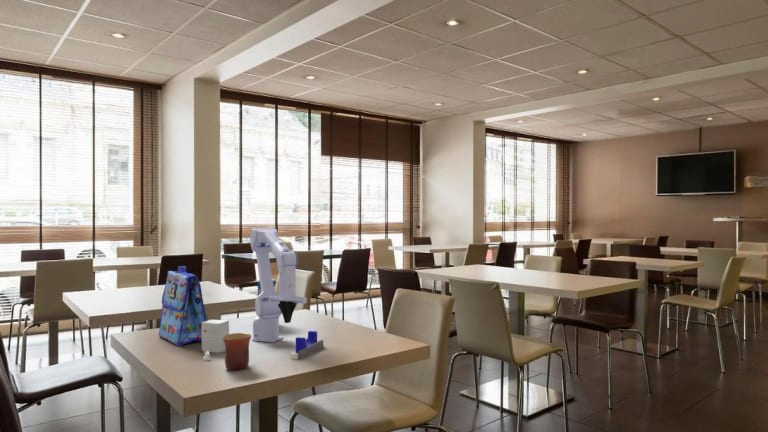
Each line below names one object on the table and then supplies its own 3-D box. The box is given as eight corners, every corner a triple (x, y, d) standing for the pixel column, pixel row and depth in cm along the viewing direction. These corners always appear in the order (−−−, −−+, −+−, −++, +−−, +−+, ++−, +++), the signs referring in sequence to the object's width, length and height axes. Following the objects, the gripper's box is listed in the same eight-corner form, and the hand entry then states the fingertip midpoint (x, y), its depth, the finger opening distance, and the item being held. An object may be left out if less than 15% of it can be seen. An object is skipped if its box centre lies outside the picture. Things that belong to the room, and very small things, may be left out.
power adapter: (211, 361, 175) (211, 351, 175) (204, 362, 173) (204, 353, 173) (207, 359, 177) (207, 350, 177) (200, 361, 175) (200, 351, 175)
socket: (290, 358, 175) (290, 351, 175) (316, 345, 193) (316, 338, 193) (299, 359, 174) (299, 352, 174) (324, 346, 192) (324, 339, 192)
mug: (248, 371, 161) (248, 338, 161) (219, 372, 160) (219, 339, 160) (255, 361, 173) (254, 330, 173) (228, 361, 172) (228, 331, 172)
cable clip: (306, 346, 192) (306, 330, 192) (317, 347, 191) (317, 331, 191) (291, 355, 181) (291, 338, 181) (303, 356, 179) (303, 338, 179)
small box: (229, 349, 188) (229, 320, 188) (220, 353, 183) (219, 323, 183) (211, 347, 191) (211, 319, 191) (201, 351, 186) (201, 322, 186)
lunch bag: (157, 336, 209) (157, 265, 209) (191, 331, 218) (191, 263, 218) (176, 347, 192) (176, 269, 192) (212, 341, 201) (211, 266, 201)
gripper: (263, 285, 186) (264, 323, 186) (299, 287, 181) (300, 326, 181) (274, 283, 192) (274, 319, 192) (309, 284, 188) (309, 322, 188)
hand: (287, 322), depth 187 cm, fingers closed
